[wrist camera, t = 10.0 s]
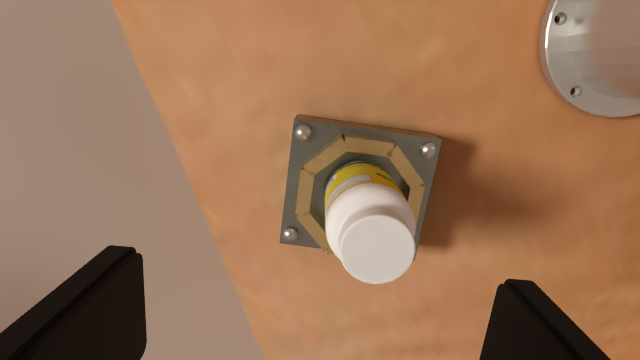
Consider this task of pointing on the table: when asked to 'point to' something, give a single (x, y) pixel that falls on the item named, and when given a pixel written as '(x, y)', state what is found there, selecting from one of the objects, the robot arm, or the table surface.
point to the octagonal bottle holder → (344, 147)
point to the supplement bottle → (369, 223)
